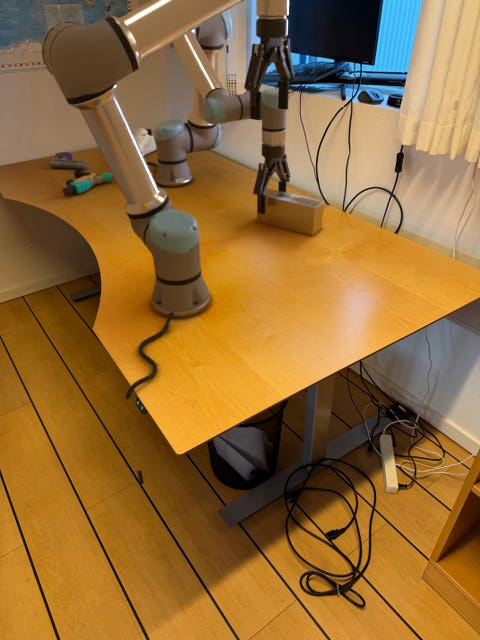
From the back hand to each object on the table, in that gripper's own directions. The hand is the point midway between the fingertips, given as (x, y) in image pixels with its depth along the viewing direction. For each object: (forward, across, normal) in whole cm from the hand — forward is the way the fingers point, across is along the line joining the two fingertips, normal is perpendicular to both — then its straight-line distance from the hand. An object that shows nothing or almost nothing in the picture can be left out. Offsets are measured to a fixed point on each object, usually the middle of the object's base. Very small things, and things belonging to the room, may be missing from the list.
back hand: (271, 206), depth 164 cm
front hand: (-35, +22, +11) cm, 43 cm away
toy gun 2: (+4, +15, -82) cm, 84 cm away
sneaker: (+4, -27, -92) cm, 96 cm away
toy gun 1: (+4, -2, -108) cm, 109 cm away
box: (+5, 0, +7) cm, 9 cm away
